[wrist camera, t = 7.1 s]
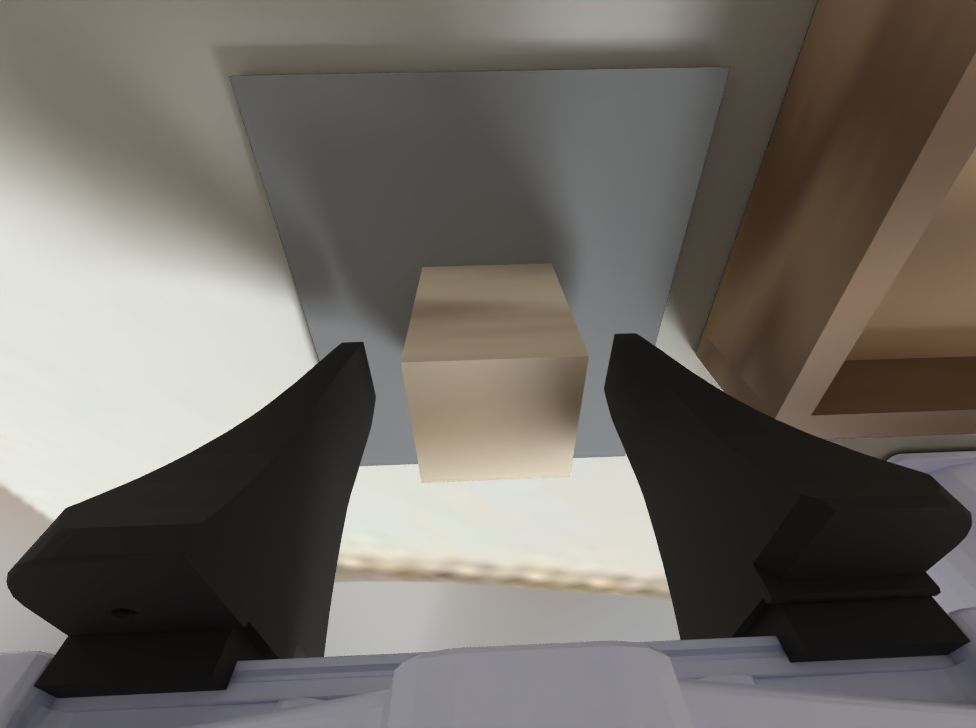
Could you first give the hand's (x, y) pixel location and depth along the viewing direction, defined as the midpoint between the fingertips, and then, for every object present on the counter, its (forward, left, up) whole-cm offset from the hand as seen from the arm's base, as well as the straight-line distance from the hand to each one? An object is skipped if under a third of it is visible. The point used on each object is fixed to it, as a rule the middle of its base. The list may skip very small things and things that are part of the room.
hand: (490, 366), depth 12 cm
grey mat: (0, 0, -3) cm, 3 cm away
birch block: (0, 0, -2) cm, 2 cm away
